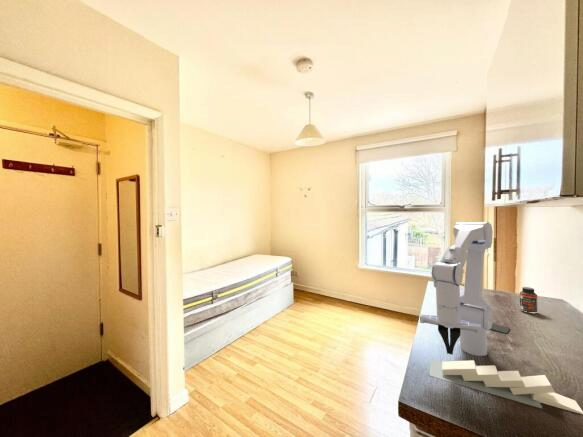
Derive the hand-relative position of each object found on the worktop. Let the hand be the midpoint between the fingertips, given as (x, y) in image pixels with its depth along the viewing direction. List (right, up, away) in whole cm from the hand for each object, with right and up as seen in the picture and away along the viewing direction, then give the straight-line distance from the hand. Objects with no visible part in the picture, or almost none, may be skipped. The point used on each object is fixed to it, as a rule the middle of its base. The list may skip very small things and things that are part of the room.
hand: (449, 352), depth 67 cm
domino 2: (+6, -5, -4) cm, 9 cm away
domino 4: (+14, -4, -9) cm, 17 cm away
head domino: (-1, -5, +1) cm, 5 cm away
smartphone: (+36, -7, +31) cm, 48 cm away
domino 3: (+11, -5, -7) cm, 14 cm away
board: (+5, -7, -4) cm, 9 cm away
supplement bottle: (+67, -6, +44) cm, 81 cm away
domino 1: (+2, -5, -2) cm, 6 cm away
